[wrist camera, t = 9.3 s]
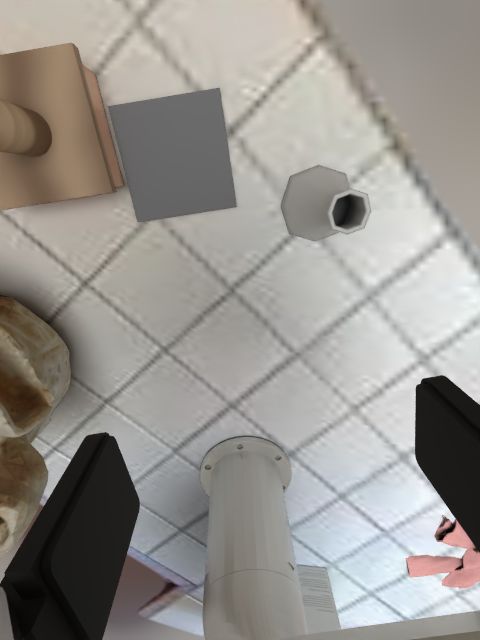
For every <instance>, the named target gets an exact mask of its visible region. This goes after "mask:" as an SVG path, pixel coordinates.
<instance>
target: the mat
mask: <svg viewBox="0 0 480 640" xmlns="http://www.w3.org/2000/svg"><path fill="white" fill-rule="evenodd" d="M108 108H109V112H110V116H111V120H112V124H113V127H114V131H115V135H116V139H117V143H118V147H119V151H120V155H121V159H122V163H123V167H124V171H125V175H126V178H127V182H128V186H129V190H130V194H131V198H132V202H133V206H134V210H135V214H136V218H137V222H142V221H149V220H155V219H162V218H168V217H174V216H181V215H187V214H194V213H200V212H206V211H213V210H219V209H226V208H232V207H237V206H236V199H235V192H234V185H233V178H232V171H231V164H230V157H229V150H228V143H227V136H226V129H225V122H224V115H223V108H222V101H221V94H220V88H216V89H210V90H204V91H198V92H192V93H186V94H180V95H174V96H168V97H162V98H156V99H150V100H144V101H138V102H132V103H126V104H120V105H114V106H108Z"/></svg>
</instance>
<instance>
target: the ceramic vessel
mask: <svg viewBox="0 0 480 640" xmlns="http://www.w3.org/2000/svg"><path fill="white" fill-rule="evenodd" d="M69 353H70V352H69V350H68V348H67V346H66V344H65V343H64V342H63V340H62V339H61V338H60V337H59V335H58V334H57V333H56V332H55V331H54V330H53V329H52V328H51V327H50V326H49V325H48V324H47V323H46V322H44V321H43V320H42V319H40V318H39V317H38V316H36V315H35V314H34V313H32V312H31V311H30V310H28V309H27V308H26V307H24V306H23V305H22V304H20V303H19V302H17V301H15V300H14V299H12V298H11V297H6V296H1V295H0V557H1V556H3V555H4V554H5V553H6V552H7V551H9V550H10V549H11V548H12V547H13V546H14V545H15V544H16V543H17V541H18V540H19V539H20V537H21V536H22V535H23V533H24V532H25V531H26V529H27V528H28V526H29V524H30V522H31V521H32V519H33V517H34V515H35V514H36V511H37V509H38V506H39V503H40V501H41V498H42V495H43V493H44V490H45V487H46V485H47V481H48V470H47V468H46V465H45V462H44V459H43V457H42V456H41V454H40V453H39V452H38V451H37V450H36V449H35V448H34V447H33V446H32V445H31V443H32V441H33V440H34V439H35V438H36V436H37V435H38V434H39V433H41V432H42V431H43V429H44V428H45V427H46V426H47V425H48V424H49V422H50V421H51V415H52V413H53V410H54V408H56V407H57V405H58V403H59V402H60V400H61V399H62V398H63V396H64V395H65V394H66V392H67V390H68V388H69V386H70V378H71V368H70V362H69Z"/></svg>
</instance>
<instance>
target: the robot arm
mask: <svg viewBox="0 0 480 640" xmlns="http://www.w3.org/2000/svg"><path fill="white" fill-rule="evenodd" d="M415 456H416V460H417V463H418V465H419V467H420V468H421V470H422V471H423V472H424V474H425V475H426V477H427V478H428V480H429V481H430V482H431V484H432V485H433V487H434V488H435V490H436V491H437V492H438V494H439V495H440V497H441V498H442V500H443V501H444V503H445V504H446V505H447V507H448V508H449V510H450V511H451V513H452V514H453V515H454V517H455V518H456V520H457V521H458V523H459V524H460V525H461V527H462V528H463V530H464V531H465V533H466V534H467V536H468V537H469V538H470V540H471V541H472V543H473V544H474V546H475V547H476V548H477V550H478V551H479V553H480V405H479V404H478V403H477V402H475V401H474V400H473V399H472V398H471V397H469V396H468V395H467V394H466V393H465V392H463V391H462V390H461V389H460V388H459V387H458V386H456V385H455V384H454V383H453V382H452V381H450V380H449V379H448V378H447V377H445V376H436V377H430V378H424V379H422V381H421V384H418V385H417V386H416V421H415ZM290 481H291V467H290V463H289V460H288V458H287V456H286V455H285V453H284V452H283V451H282V450H281V449H280V448H279V447H278V446H276V445H275V444H273V443H272V442H269V441H267V440H264V439H260V438H255V437H240V438H234V439H230V440H227V441H225V442H222V443H220V444H219V445H217V446H215V447H214V448H213V449H212V450H211V451H210V452H208V454H207V455H206V456H205V458H204V459H203V462H202V465H201V470H200V482H201V486H202V488H203V490H204V492H205V493H206V494H207V495H208V497H209V498H210V503H209V519H208V535H207V551H206V566H205V582H204V598H203V629H204V635H205V639H206V640H480V611H473V612H466V613H459V614H451V615H444V616H437V617H429V618H422V619H415V620H407V621H400V622H393V623H385V624H378V625H371V626H363V627H356V628H349V629H342V630H335V631H328V632H321V633H314V634H309V633H308V628H307V623H306V618H305V612H304V606H303V601H302V595H301V589H300V583H299V578H298V572H297V566H296V561H295V555H294V549H293V543H292V538H291V532H290V526H289V521H288V515H287V509H286V504H285V498H284V492H285V491H286V490H287V488H288V486H289V484H290ZM139 507H140V503H139V498H138V495H137V492H136V490H135V487H134V485H133V482H132V480H131V477H130V475H129V472H128V469H127V467H126V464H125V462H124V459H123V457H122V454H121V452H120V449H119V446H118V444H117V441H116V439H115V437H114V436H110V435H109V434H108V433H106V432H104V433H98V434H92V435H88V436H86V437H85V438H84V440H83V442H82V443H81V445H80V447H79V448H78V450H77V452H76V453H75V455H74V457H73V459H72V460H71V462H70V464H69V465H68V467H67V469H66V470H65V472H64V474H63V475H62V477H61V479H60V480H59V482H58V484H57V485H56V487H55V489H54V490H53V492H52V494H51V495H50V497H49V499H48V500H47V502H46V504H45V506H44V507H43V509H42V511H41V512H40V514H39V516H38V517H37V519H36V521H35V522H34V524H33V526H32V527H31V529H30V531H29V532H28V534H27V536H26V538H25V539H24V541H23V543H22V544H21V546H20V547H19V549H18V551H17V553H16V554H15V556H14V558H13V559H12V561H11V563H10V564H9V566H8V568H7V569H6V571H5V577H4V578H3V580H2V581H1V583H0V640H102V638H103V635H104V632H105V628H106V625H107V621H108V617H109V614H110V610H111V607H112V603H113V600H114V597H115V593H116V590H117V586H118V583H119V579H120V576H121V572H122V569H123V565H124V562H125V558H126V555H127V551H128V548H129V544H130V541H131V537H132V534H133V530H134V527H135V523H136V520H137V516H138V513H139Z"/></svg>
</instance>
